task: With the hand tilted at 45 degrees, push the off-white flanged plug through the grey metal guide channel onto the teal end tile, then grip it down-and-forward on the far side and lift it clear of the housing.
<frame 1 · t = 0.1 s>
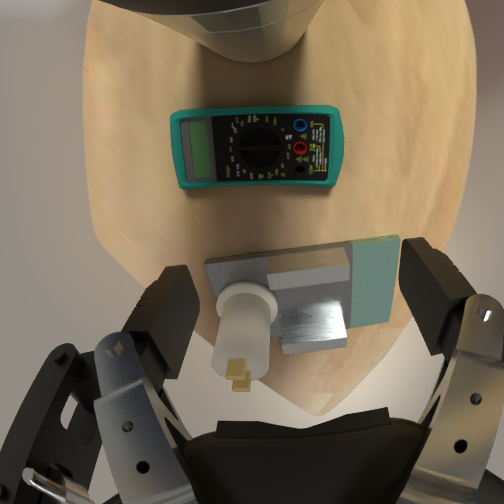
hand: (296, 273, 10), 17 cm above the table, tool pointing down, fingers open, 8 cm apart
digital multimeter: (256, 141, 25), on the table
plug: (247, 304, 33), point 1 cm above the table, touching housing
housing: (309, 292, 33), on the table
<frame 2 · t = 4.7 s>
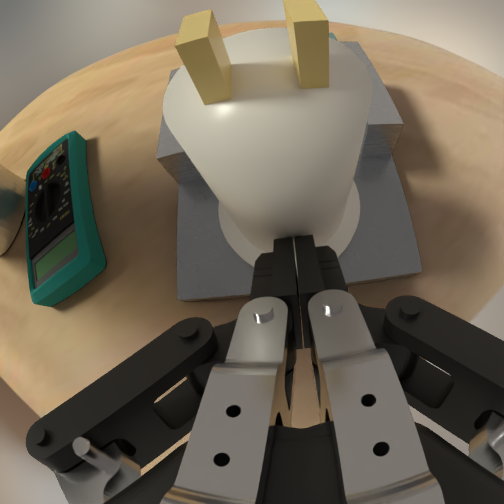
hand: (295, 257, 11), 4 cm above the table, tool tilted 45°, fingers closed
digital multimeter: (68, 216, 20), on the table
plug: (289, 209, 15), point 1 cm above the table, touching housing
housing: (278, 125, 18), on the table
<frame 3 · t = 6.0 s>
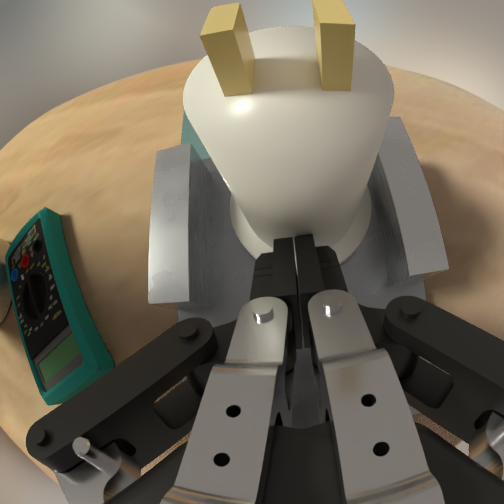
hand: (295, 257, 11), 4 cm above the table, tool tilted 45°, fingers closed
digital multimeter: (59, 305, 18), on the table
plug: (301, 208, 15), point 1 cm above the table, touching gripper
housing: (293, 228, 15), on the table
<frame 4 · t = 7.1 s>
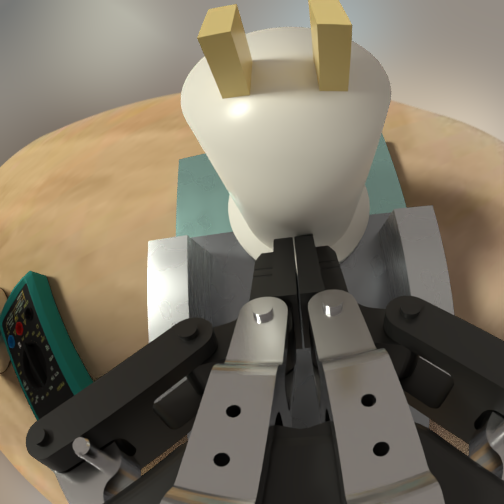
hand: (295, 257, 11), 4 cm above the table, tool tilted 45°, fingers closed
digital multimeter: (60, 369, 17), on the table
plug: (299, 208, 15), point 1 cm above the table, touching gripper, housing
housing: (302, 321, 14), on the table
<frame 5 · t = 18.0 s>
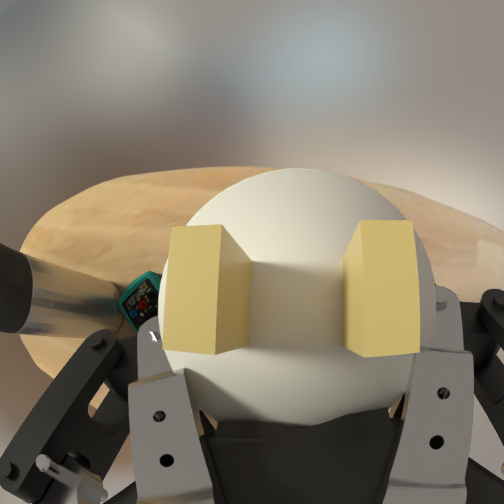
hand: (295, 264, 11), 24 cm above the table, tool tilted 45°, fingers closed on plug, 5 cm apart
digital multimeter: (167, 327, 37), on the table
plug: (302, 317, 14), point 20 cm above the table, touching gripper
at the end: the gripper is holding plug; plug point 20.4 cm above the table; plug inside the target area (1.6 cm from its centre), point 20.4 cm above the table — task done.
